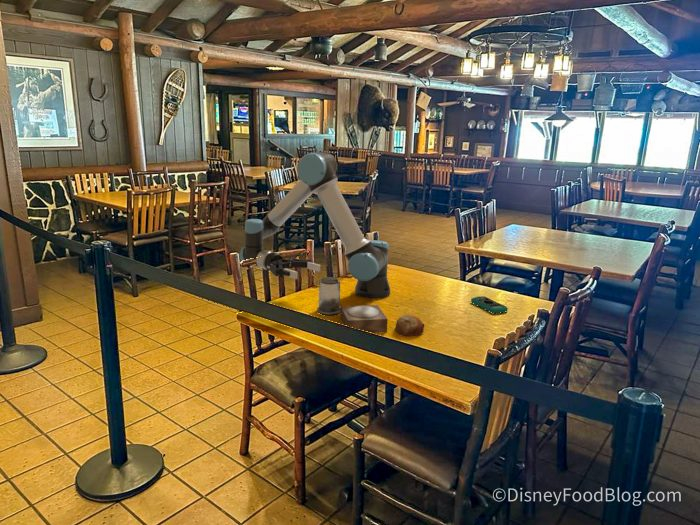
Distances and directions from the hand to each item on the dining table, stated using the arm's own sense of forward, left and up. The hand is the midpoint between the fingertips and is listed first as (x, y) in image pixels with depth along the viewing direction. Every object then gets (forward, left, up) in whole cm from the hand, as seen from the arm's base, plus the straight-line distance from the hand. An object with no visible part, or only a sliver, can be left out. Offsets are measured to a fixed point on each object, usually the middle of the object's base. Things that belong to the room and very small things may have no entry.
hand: (309, 272), depth 194 cm
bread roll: (-32, +29, -14) cm, 46 cm away
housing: (-7, +8, -14) cm, 17 cm away
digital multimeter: (-72, +10, -15) cm, 74 cm away
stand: (-17, +23, -14) cm, 31 cm away
